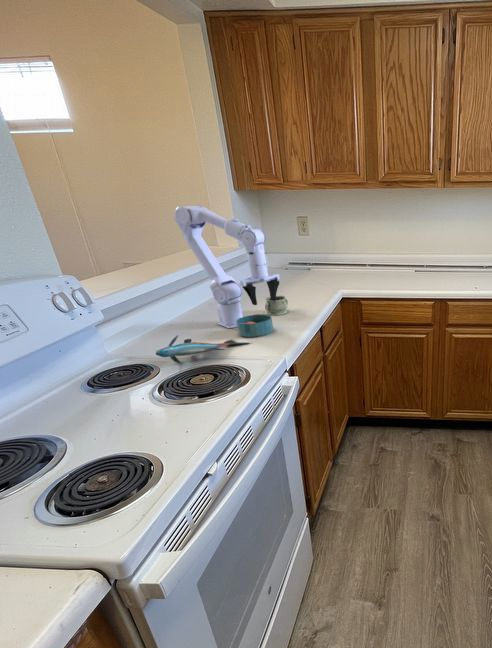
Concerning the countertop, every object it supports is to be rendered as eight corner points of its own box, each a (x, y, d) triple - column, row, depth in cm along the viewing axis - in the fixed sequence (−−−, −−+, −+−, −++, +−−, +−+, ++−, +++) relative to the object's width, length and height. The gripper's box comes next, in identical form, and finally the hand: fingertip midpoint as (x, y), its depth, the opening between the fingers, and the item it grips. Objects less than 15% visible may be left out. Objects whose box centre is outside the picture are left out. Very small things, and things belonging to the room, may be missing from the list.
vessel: (281, 308, 181) (279, 293, 179) (295, 310, 177) (293, 295, 174) (259, 314, 172) (256, 300, 170) (274, 317, 168) (271, 302, 165)
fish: (141, 363, 121) (171, 372, 113) (138, 335, 119) (169, 342, 112) (230, 351, 146) (259, 358, 139) (229, 327, 144) (259, 333, 137)
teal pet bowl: (232, 333, 150) (229, 320, 148) (262, 325, 158) (260, 312, 156) (249, 340, 143) (247, 326, 141) (280, 331, 151) (277, 318, 149)
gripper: (244, 268, 139) (251, 308, 145) (282, 262, 149) (287, 300, 155) (234, 266, 144) (241, 305, 149) (271, 261, 154) (277, 297, 159)
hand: (264, 302), depth 152 cm, fingers open, 7 cm apart
